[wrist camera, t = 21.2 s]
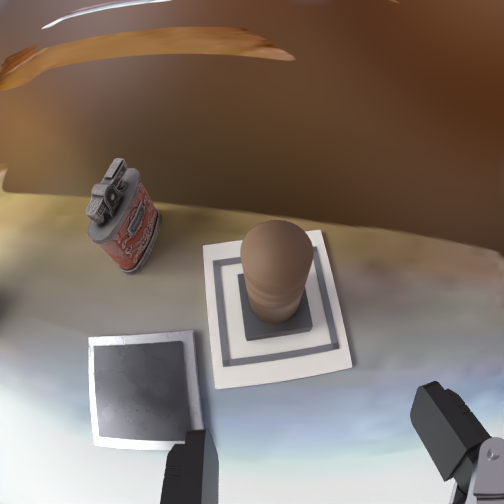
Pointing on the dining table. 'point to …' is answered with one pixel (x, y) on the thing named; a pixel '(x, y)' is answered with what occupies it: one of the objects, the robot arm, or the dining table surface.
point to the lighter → (123, 217)
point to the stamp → (275, 280)
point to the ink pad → (144, 390)
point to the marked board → (277, 348)
